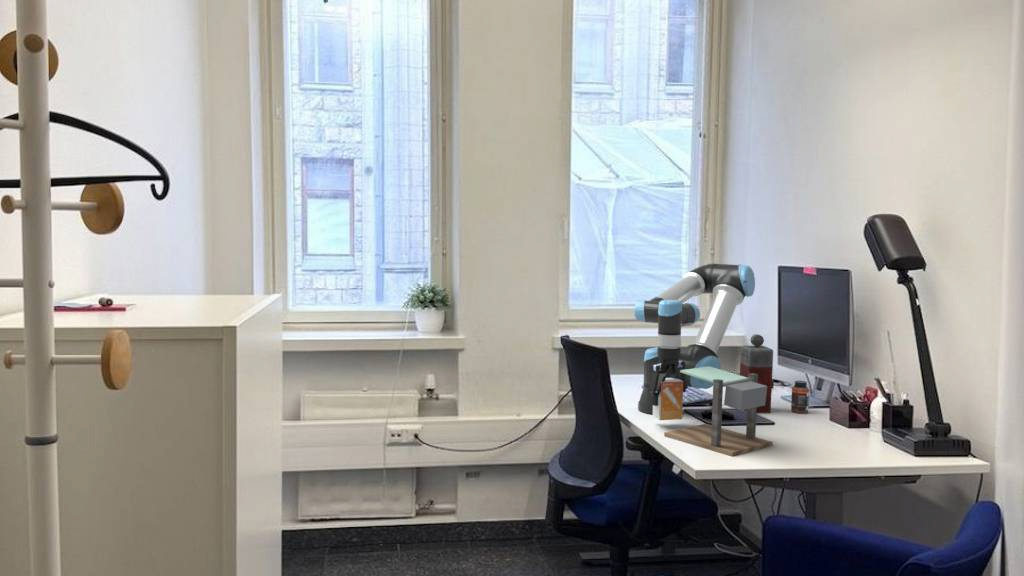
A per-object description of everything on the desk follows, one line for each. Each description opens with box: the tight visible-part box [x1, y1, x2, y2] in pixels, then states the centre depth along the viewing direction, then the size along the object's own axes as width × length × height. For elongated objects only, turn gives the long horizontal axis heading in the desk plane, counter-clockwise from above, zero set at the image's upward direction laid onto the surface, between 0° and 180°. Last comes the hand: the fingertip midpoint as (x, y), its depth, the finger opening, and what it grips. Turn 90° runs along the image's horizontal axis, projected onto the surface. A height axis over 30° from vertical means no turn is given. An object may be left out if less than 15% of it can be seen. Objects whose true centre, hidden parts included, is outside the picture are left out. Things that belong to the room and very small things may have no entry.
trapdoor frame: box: [663, 373, 774, 457], centre depth 238 cm, size 20×26×21 cm
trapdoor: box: [680, 366, 767, 411], centre depth 236 cm, size 14×23×7 cm, turn 37°
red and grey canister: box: [739, 333, 774, 414], centre depth 281 cm, size 9×11×28 cm
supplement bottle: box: [790, 380, 810, 414], centre depth 279 cm, size 6×6×11 cm
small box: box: [652, 378, 684, 421], centre depth 255 cm, size 8×6×13 cm
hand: (667, 412), depth 255 cm, fingers closed on small box, 10 cm apart
